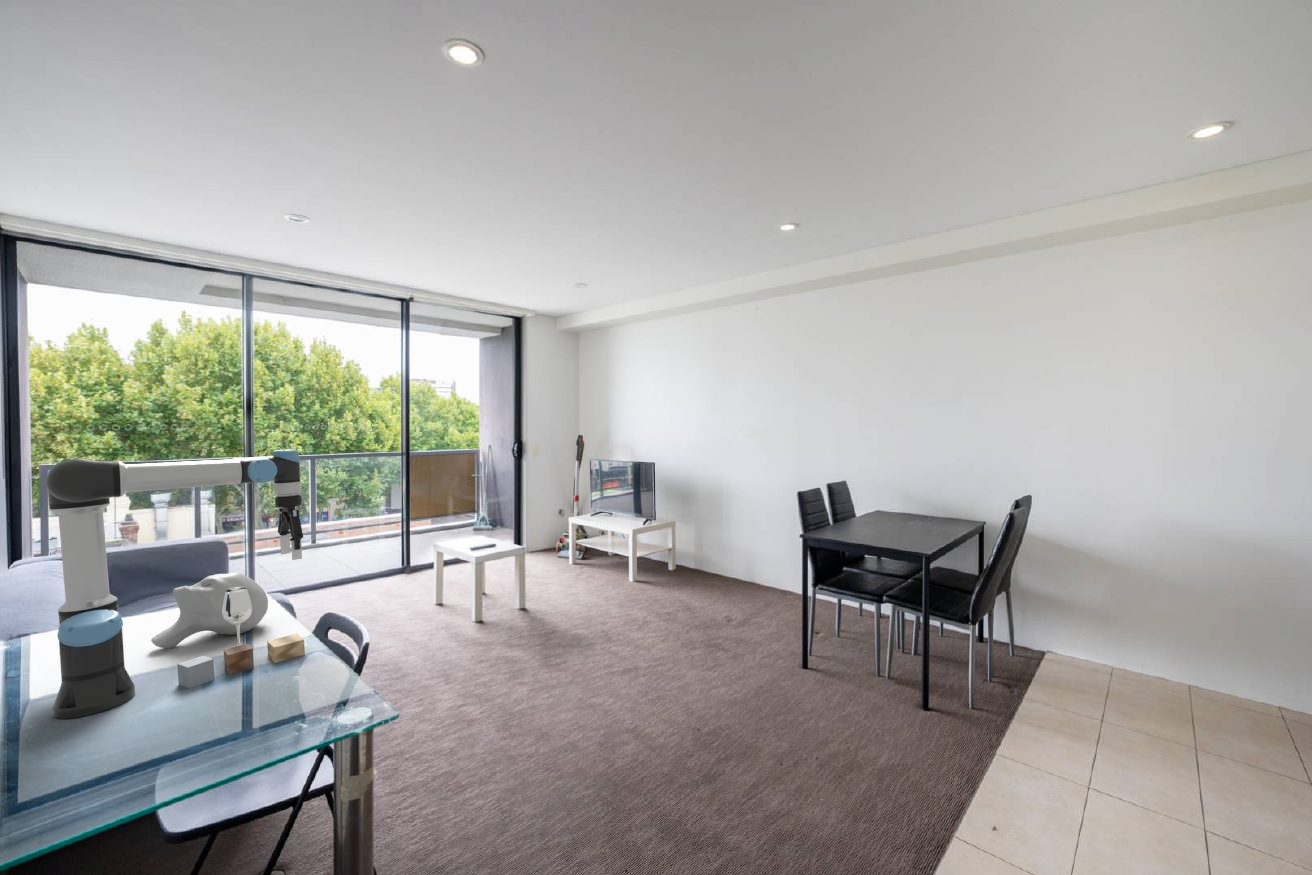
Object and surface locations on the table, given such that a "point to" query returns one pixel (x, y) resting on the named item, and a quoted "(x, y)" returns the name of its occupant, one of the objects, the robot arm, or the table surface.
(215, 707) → the table surface
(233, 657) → the walnut block
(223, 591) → the alien head
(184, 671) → the grey block
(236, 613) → the wineglass
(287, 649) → the base block
